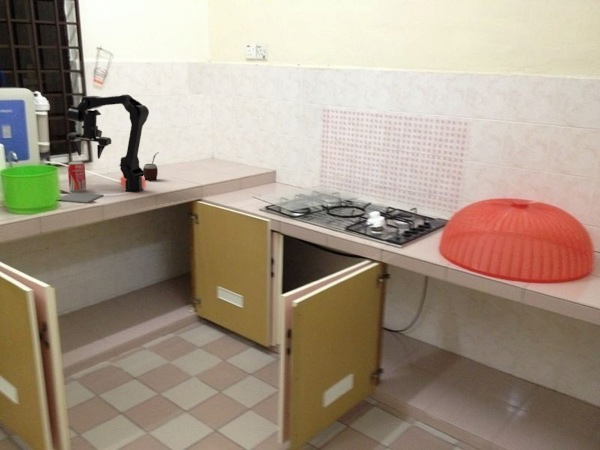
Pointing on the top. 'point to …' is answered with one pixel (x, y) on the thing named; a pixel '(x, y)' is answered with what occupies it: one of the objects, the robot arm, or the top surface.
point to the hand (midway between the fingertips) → (89, 157)
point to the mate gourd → (150, 171)
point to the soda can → (76, 176)
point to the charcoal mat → (80, 197)
